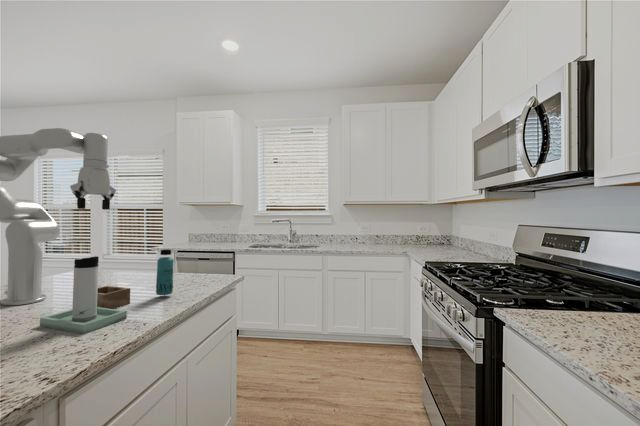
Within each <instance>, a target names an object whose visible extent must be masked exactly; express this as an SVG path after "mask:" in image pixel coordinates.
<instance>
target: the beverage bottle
mask: <svg viewBox="0 0 640 426" xmlns="http://www.w3.org/2000/svg"><path fill="white" fill-rule="evenodd" d="M160 255H161V256H162V257H159V258H158V259H156V260H157V261H156V262H157V264H156V267H157V268H156V276H155V277H156V279H155V280H156V283H155V293H156V295H157V296H168V295H171V294H172V293H173V292H174V290H173V289H174V263H175V262H174V261H175V259H173V257H171V255H172V250H171V249H170V248H169V249H165V248H163V249H161V250H160ZM168 255H170V256H168Z"/></svg>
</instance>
